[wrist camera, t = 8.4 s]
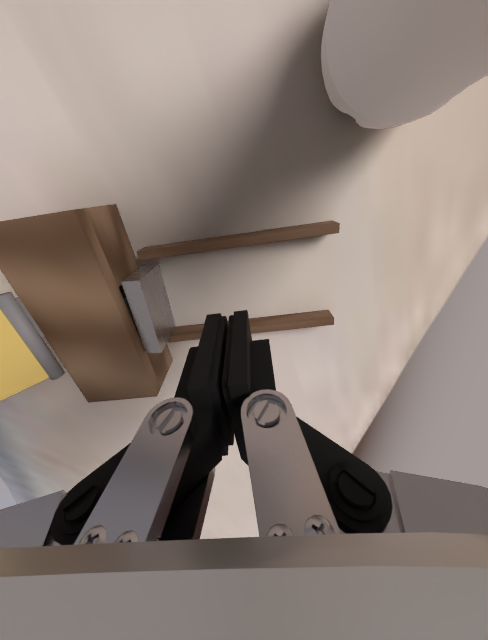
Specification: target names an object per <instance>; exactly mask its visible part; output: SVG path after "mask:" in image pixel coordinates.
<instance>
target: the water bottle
mask: <svg viewBox="0 0 488 640" xmlns="http://www.w3.org/2000/svg"><path fill="white" fill-rule="evenodd" d="M321 65H322V74H323V79H324V84H325V88H326V91H327V94H328V96H329V99H330V101H331V103H332V104H333V105H334V106H335V107H336V108H337V109H339V111H341V112H343V113H347V114H348V115H350V116H352V117H353V118H354V119H355V120H356V122H355V123H358V125H360V126H361V127H363V128H371V129H385V128H393V127H396V126H400V125H403V124H406V123H409V122H412V121H415V120H417V119H420V118H422V117H425V116H427V115H429V114H431V113H433V112H435V111H436V110H438V109H440V108H441V107H442V106H444V105H445V104H446V103H447V102H449V101H450V100H451V99H452V98H453V97H455V96H456V95H457V94H459V93H460V92H462V91H463V90H464V89H466V88H467V87H469V86H470V85H472V84H473V83H475V82H477V81H478V80H480V79H482V78H483V77H485V76H487V75H488V0H330V2H329V7H328V11H327V16H326V21H325V25H324V31H323V37H322V45H321Z"/></svg>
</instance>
